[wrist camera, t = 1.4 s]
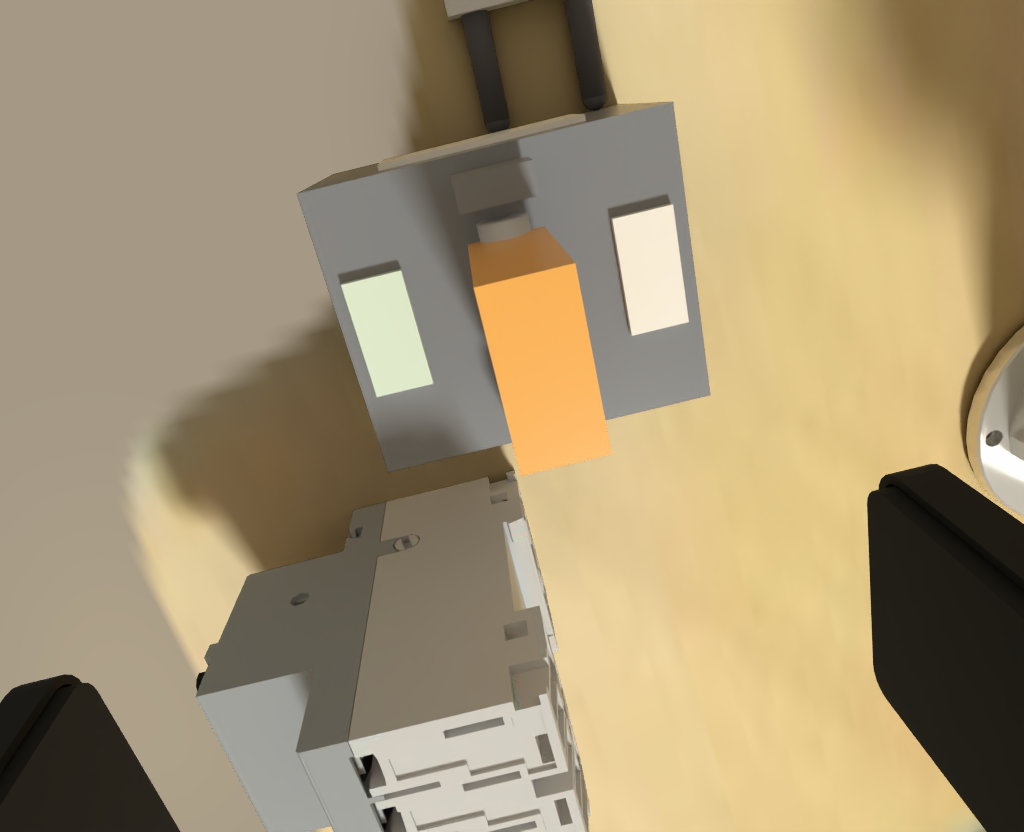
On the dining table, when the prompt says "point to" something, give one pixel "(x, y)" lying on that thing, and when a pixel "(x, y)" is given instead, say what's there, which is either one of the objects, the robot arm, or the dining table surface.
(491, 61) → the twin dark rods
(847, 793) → the dining table surface
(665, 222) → the panel
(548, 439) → the lever
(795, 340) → the dining table surface
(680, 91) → the dining table surface
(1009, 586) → the robot arm
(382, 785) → the circuit breaker
